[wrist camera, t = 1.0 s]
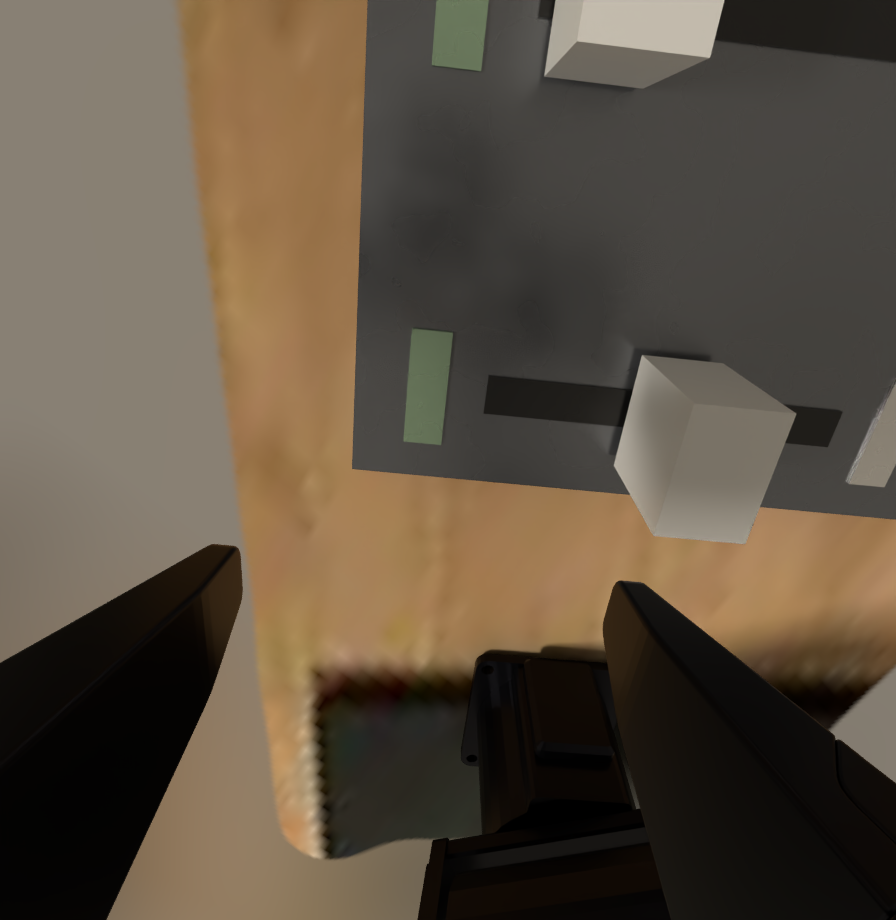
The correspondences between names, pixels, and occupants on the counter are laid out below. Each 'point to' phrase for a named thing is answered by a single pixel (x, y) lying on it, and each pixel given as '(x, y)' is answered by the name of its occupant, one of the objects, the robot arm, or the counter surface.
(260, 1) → the counter surface
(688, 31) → the block
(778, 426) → the block
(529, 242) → the dark grey flat plate
